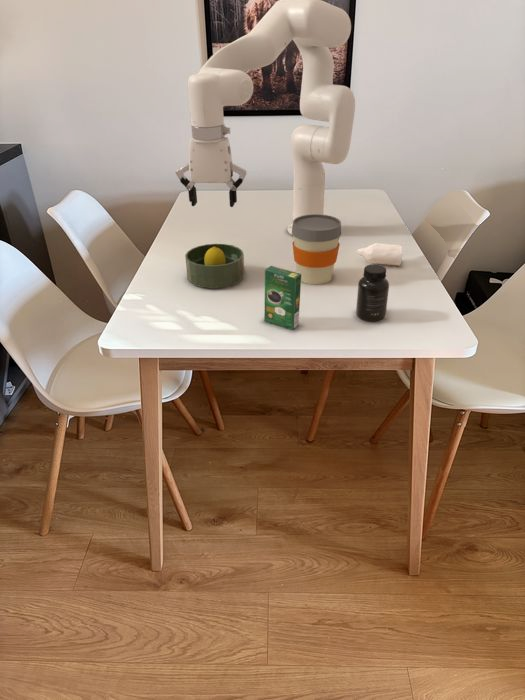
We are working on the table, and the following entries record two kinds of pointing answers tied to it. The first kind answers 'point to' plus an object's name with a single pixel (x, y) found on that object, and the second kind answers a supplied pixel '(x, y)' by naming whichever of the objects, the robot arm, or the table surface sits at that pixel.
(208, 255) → the lemon
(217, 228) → the table surface
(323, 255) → the reusable coffee cup
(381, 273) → the supplement bottle
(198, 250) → the green round bowl
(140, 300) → the table surface
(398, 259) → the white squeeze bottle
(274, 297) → the coffee box
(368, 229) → the table surface
